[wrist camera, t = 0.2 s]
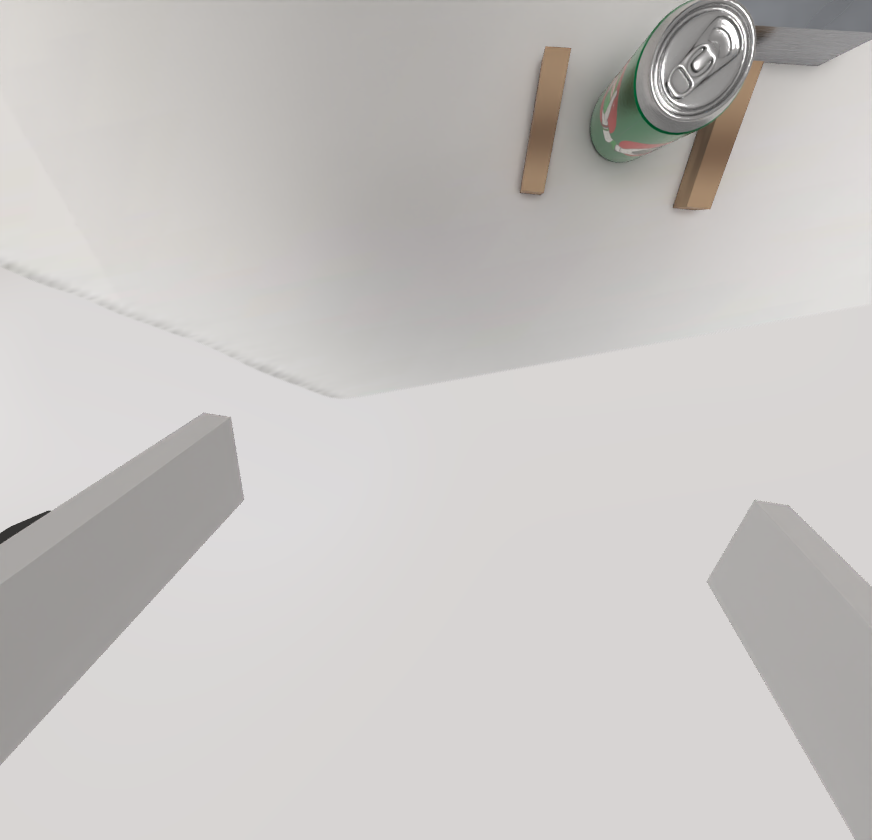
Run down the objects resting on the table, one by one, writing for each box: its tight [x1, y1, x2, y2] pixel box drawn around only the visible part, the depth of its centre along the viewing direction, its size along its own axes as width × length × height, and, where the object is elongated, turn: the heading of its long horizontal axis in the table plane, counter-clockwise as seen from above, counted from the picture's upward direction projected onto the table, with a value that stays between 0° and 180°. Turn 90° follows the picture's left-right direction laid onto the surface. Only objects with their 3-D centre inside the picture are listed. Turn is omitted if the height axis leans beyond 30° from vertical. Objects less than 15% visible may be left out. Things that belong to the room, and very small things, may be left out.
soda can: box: [590, 0, 756, 162], centre depth 23 cm, size 5×5×12 cm
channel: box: [520, 47, 764, 210], centre depth 28 cm, size 8×13×2 cm, turn 85°
